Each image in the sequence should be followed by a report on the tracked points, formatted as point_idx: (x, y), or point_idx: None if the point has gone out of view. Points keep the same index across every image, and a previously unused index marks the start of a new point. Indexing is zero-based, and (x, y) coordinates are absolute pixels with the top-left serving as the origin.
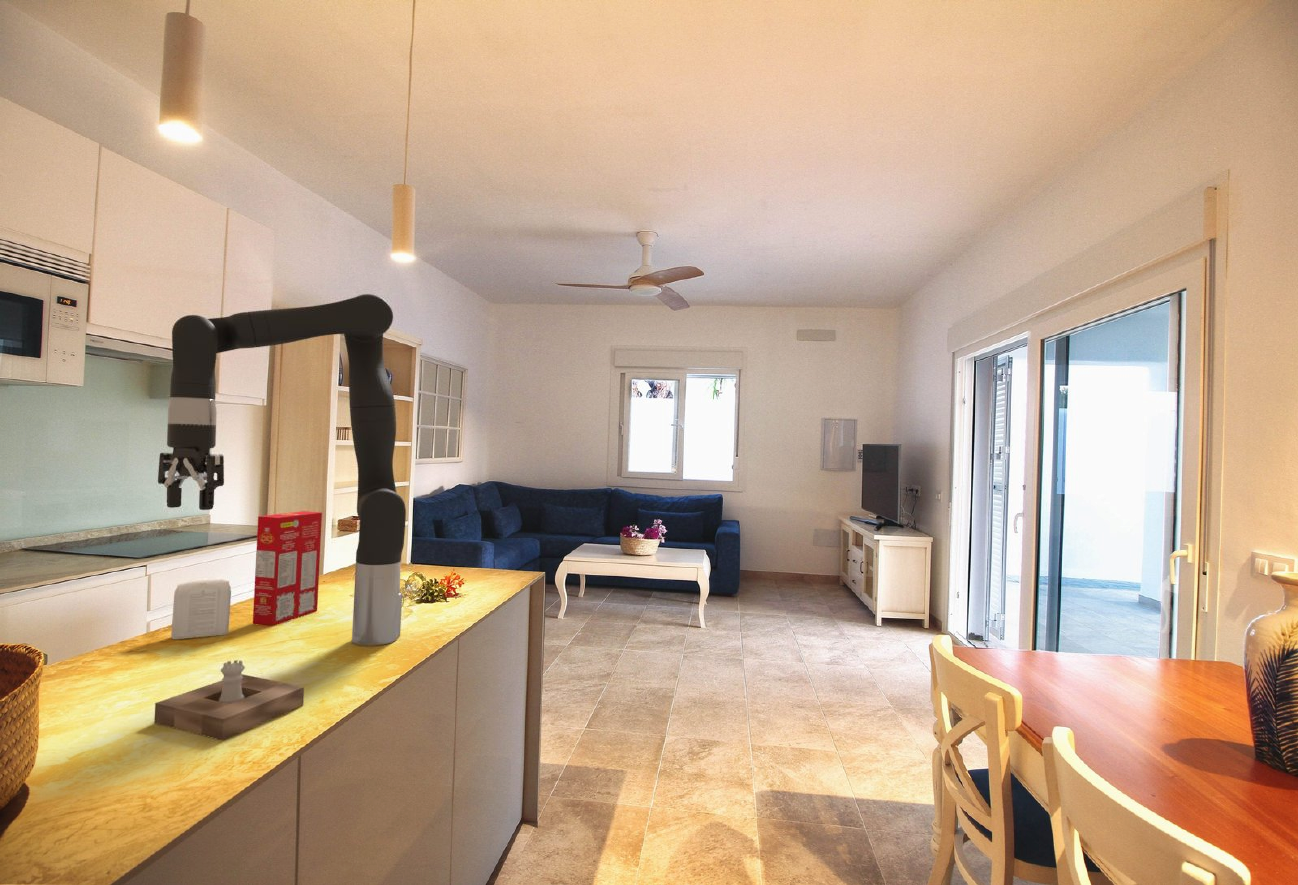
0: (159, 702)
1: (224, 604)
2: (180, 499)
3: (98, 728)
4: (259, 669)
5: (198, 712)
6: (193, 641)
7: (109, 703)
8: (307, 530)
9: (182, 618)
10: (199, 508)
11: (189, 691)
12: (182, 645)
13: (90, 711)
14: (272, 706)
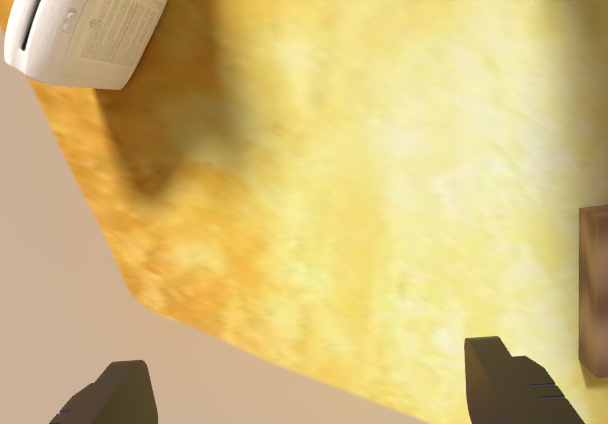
0: (600, 373)
1: None
2: (119, 393)
3: None
4: (494, 105)
5: None
6: (165, 65)
7: (426, 350)
8: None
9: (107, 74)
10: (472, 417)
11: (597, 321)
12: (179, 99)
13: (437, 379)
14: None
